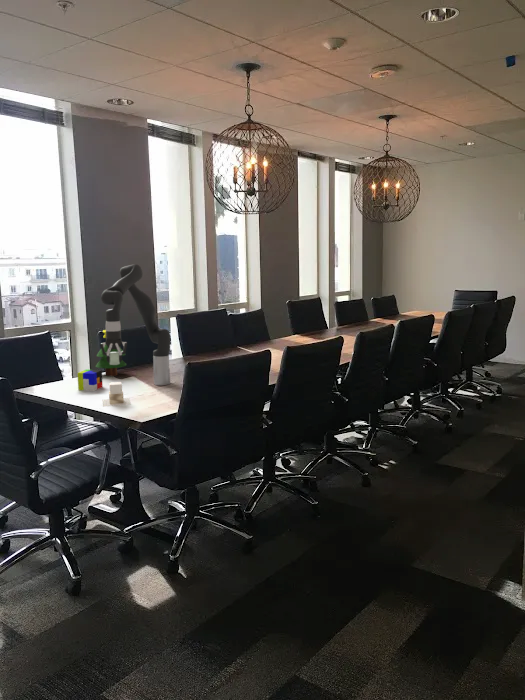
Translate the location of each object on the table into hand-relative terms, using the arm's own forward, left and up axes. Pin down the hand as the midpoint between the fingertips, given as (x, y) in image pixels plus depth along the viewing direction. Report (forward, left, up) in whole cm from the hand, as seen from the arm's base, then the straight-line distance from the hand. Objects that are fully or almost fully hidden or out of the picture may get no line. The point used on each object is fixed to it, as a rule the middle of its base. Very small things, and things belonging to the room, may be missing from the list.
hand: (114, 362), depth 307 cm
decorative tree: (0, -73, -22) cm, 76 cm away
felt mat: (0, 0, -22) cm, 22 cm away
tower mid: (0, 0, -16) cm, 16 cm away
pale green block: (0, 0, -1) cm, 1 cm away
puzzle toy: (+13, -38, -22) cm, 46 cm away
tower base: (0, 0, -21) cm, 21 cm away
